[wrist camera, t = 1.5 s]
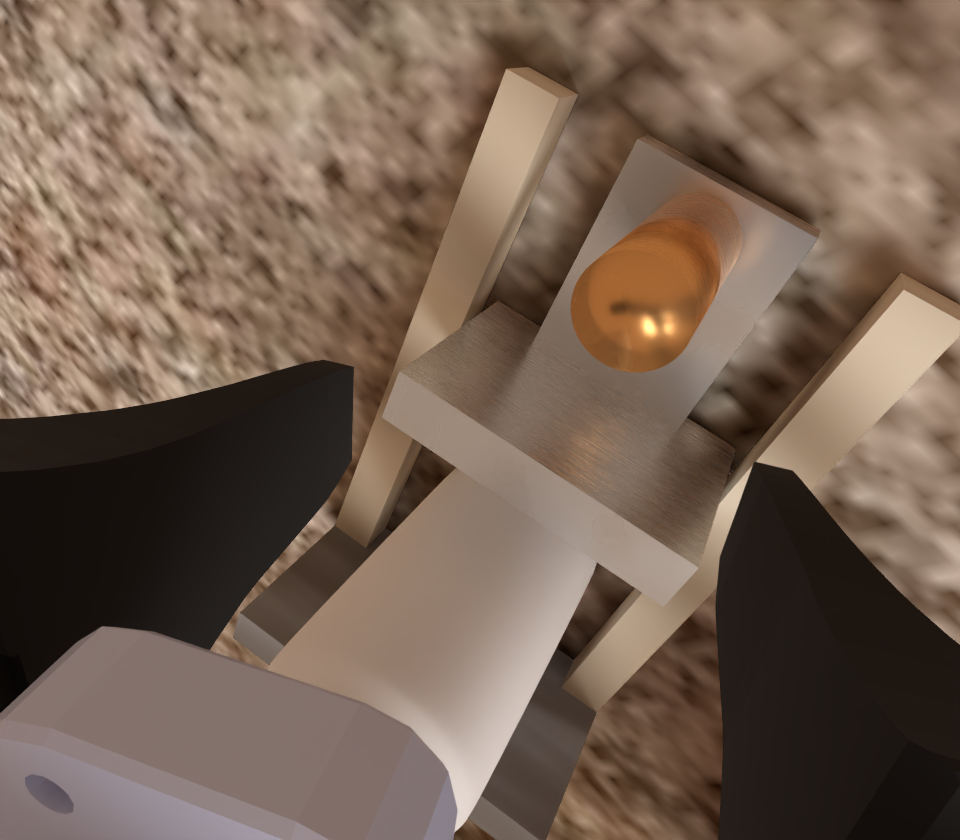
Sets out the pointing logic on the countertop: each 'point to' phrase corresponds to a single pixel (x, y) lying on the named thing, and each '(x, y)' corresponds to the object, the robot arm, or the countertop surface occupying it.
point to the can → (448, 626)
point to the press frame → (638, 620)
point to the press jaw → (615, 371)
